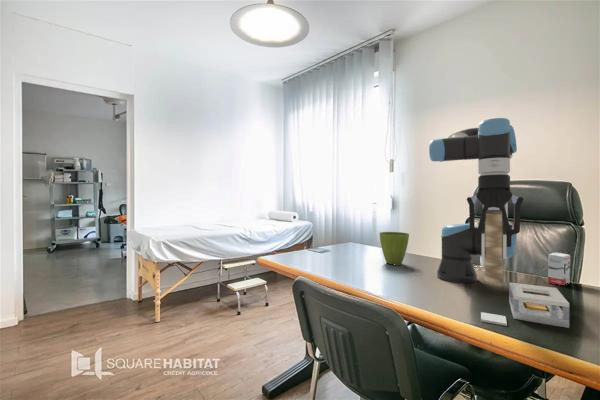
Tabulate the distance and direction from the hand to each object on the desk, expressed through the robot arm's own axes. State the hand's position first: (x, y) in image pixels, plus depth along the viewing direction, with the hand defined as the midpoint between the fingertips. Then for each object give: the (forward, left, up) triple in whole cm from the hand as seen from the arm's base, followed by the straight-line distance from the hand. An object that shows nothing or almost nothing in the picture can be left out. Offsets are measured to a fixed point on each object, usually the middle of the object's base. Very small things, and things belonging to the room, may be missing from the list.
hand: (493, 257), depth 84 cm
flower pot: (-42, +59, -18) cm, 75 cm away
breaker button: (+11, +12, -18) cm, 24 cm away
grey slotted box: (+11, +12, -18) cm, 24 cm away
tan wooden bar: (0, 0, -7) cm, 7 cm away
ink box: (+24, +57, -18) cm, 65 cm away
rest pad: (0, 0, -18) cm, 18 cm away
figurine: (-2, +71, -18) cm, 74 cm away
